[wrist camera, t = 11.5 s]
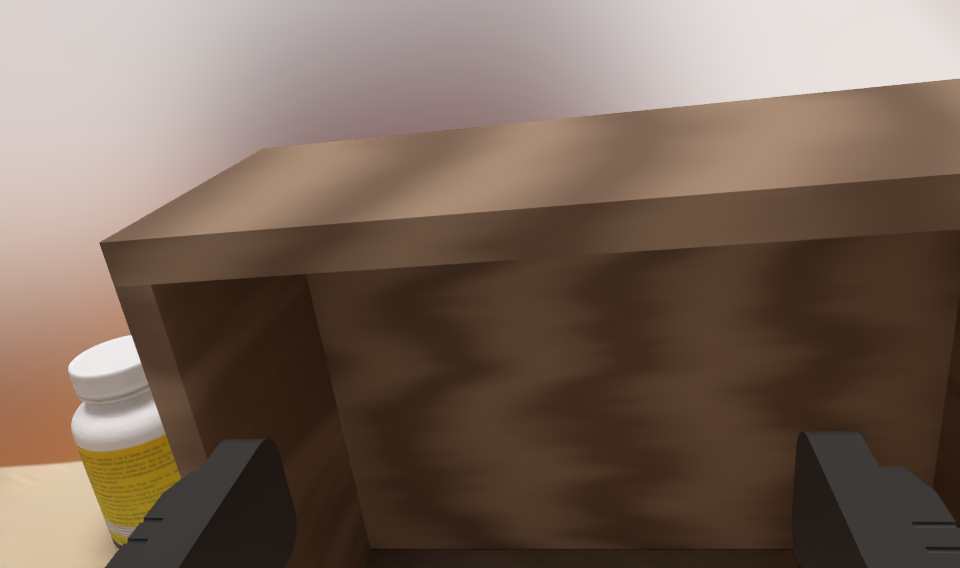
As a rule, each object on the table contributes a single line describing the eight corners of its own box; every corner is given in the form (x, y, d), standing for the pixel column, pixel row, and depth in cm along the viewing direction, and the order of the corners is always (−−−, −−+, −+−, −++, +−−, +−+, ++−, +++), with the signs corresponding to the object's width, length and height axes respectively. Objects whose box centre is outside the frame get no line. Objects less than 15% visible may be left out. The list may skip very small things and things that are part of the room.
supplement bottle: (236, 544, 34) (177, 362, 31) (113, 585, 33) (35, 399, 29) (230, 479, 39) (179, 316, 36) (123, 513, 38) (57, 345, 34)
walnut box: (272, 740, 25) (99, 243, 18) (355, 533, 34) (262, 148, 27) (1095, 779, 21) (1288, 147, 14) (940, 531, 30) (1008, 73, 23)
